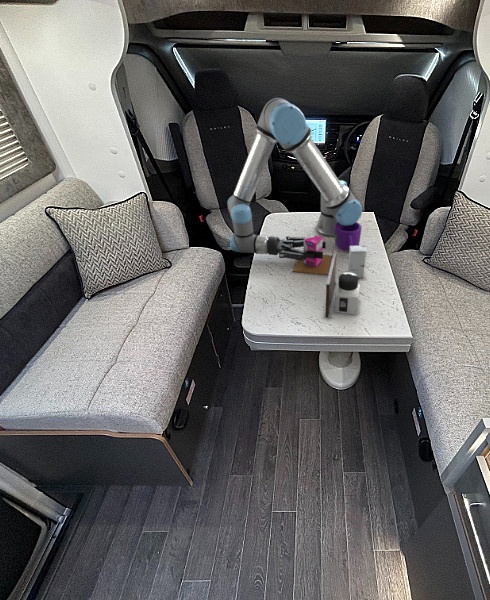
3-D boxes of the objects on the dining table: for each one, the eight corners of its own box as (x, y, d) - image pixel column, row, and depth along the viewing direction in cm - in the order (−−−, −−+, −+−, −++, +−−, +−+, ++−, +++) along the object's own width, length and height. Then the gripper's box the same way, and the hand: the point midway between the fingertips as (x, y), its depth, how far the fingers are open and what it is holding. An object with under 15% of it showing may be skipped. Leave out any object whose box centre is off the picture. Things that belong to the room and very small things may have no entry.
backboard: (332, 283, 131) (333, 251, 122) (335, 283, 131) (336, 252, 122) (325, 317, 116) (326, 284, 107) (328, 317, 116) (329, 284, 107)
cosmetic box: (348, 278, 134) (350, 251, 126) (347, 271, 137) (348, 245, 129) (363, 277, 134) (366, 251, 126) (362, 271, 137) (365, 245, 130)
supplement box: (303, 264, 140) (302, 239, 133) (310, 257, 144) (310, 233, 137) (315, 268, 138) (316, 243, 131) (322, 261, 142) (323, 236, 135)
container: (356, 314, 117) (359, 284, 109) (334, 312, 118) (335, 281, 110) (358, 300, 123) (361, 270, 115) (337, 298, 124) (338, 268, 116)
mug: (333, 240, 157) (333, 220, 151) (357, 239, 158) (359, 219, 151) (336, 260, 144) (337, 239, 137) (363, 259, 144) (365, 238, 138)
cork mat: (300, 253, 147) (300, 252, 147) (332, 256, 146) (332, 255, 145) (293, 271, 137) (293, 270, 136) (327, 275, 135) (327, 274, 135)
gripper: (275, 241, 149) (327, 245, 146) (262, 266, 134) (320, 271, 131) (274, 225, 144) (327, 230, 142) (260, 249, 129) (320, 255, 126)
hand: (324, 250), depth 136 cm, fingers closed on supplement box, 7 cm apart
